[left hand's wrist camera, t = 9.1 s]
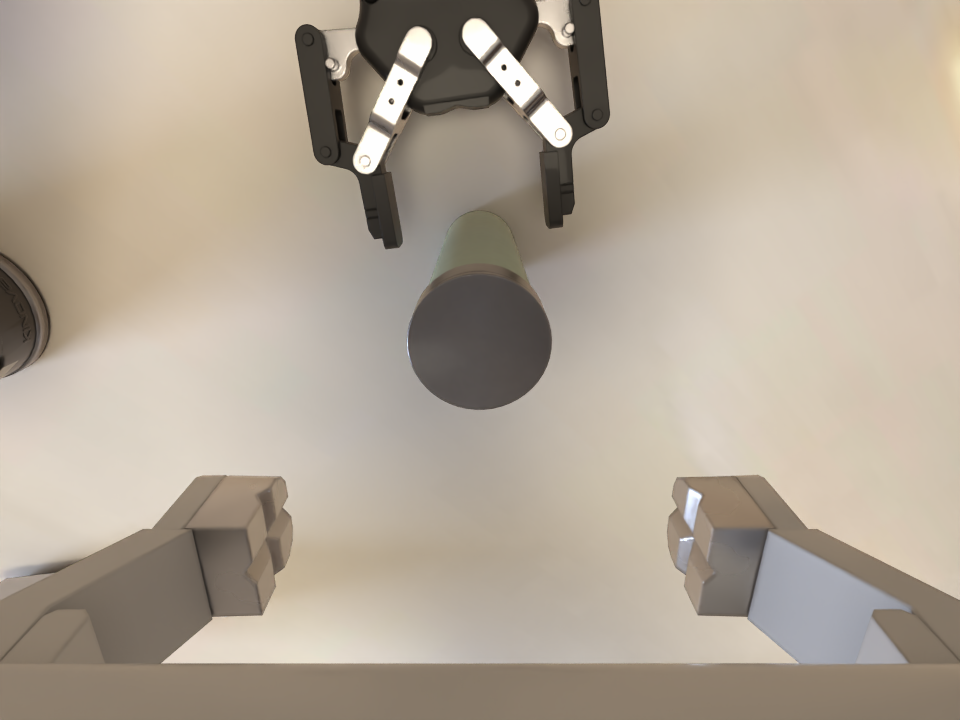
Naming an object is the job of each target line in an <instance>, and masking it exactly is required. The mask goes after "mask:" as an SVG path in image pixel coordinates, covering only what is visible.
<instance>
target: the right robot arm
mask: <svg viewBox="0 0 960 720" xmlns="http://www.w3.org/2000/svg"><path fill="white" fill-rule="evenodd" d="M537 27H543V28H545V29H547V30H548V31H549V32H550V34H551V36H552V40H553V42H554V44H555V45H556V46H557V47H558V48H561V49H567V48H568V54H569V63H570V71H571V80H572V88H573V97H574V105H575V110H574V111H573V112H571V113H569V114H567V115H565V116H564V117H563V116H562V115H561V114H560V113H559V112H558V110H557V109H556V108H555V107H554V106H553V105H552V103H551V102H550V101H549V100H548V99H547V97H546V96H545V94H544V92H543V91H542V90H541V88H540V87H539V86H538V85H537V84H536V82H535V81H534V80H533V79H532V78H531V77H530V75H529V74H528V73H527V72H526V71H525V69H524V68H523V67H522V66H521V65H520V62H521V60H522V58H523V56H524V54H525V52H526V50H527V48H528V46H529V44H530V42H531V40H532V38H533V36H534V34H535V32H536V30H537ZM295 43H296V49H297V55H298V61H299V67H300V73H301V79H302V85H303V91H304V97H305V103H306V109H307V115H308V121H309V127H310V133H311V139H312V145H313V152H314V156H315V158H316V159H317V161H318V162H320V163H321V164H323V165H332V166H336V167H340V168H344V169H348V170H350V171H352V172H353V173H354V174H355V175H356V176H357V178H358V180H359V184H360V189H361V194H362V199H363V204H364V209H365V214H366V218H367V224H368V229H369V231H370V233H371V234H372V236H373V238H374V239H380V238H383V243H384V247H385V249H392V248H399V247H400V246H401V244H402V242H403V239H402V232H401V226H400V220H399V215H398V209H397V204H396V198H395V192H394V187H393V181H392V175H391V172H386V168H385V163H386V161H387V159H388V157H389V155H390V153H391V151H392V149H393V147H394V145H395V143H396V141H397V139H398V137H399V135H400V134H401V132H402V131H403V129H404V127H405V125H406V123H407V121H408V119H409V117H410V115H411V112H412V110H414V111H416V112H418V113H420V114H424V115H427V116H434V115H441V114H445V113H447V112H449V111H451V110H454V109H456V108H465V109H472V110H476V109H484V108H489V106H491V105H493V104H494V103H496V102H497V101H498V100H499V99H500V98H501V97H502V96H503V97H504V99H505V100H506V101H507V102H508V103H509V104H510V105H511V107H512V108H513V109H514V110H515V111H516V112H517V113H518V114H519V115H520V116H521V117H522V118H523V119H524V120H525V121H526V122H527V124H528V125H529V126H530V127H531V128H532V129H533V130H534V131H535V133H536V134H537V135H538V136H539V137H540V138H541V139H542V141H543V150H544V152H539V154H540V166H541V178H542V190H543V202H544V214H545V222H546V225H547V227H548V228H549V229H551V228H558V227H563V215H568V214H572V210H573V207H574V204H575V201H574V186H573V170H572V148H573V145H574V144H575V142H576V141H577V140H578V139H579V138H581V137H583V136H584V135H586V134H588V133H590V132H592V131H594V130H596V129H599V128H601V127H603V126H605V125H606V123H607V122H608V120H609V117H610V109H609V99H608V89H607V78H606V68H605V58H604V47H603V37H602V27H601V16H600V6H599V0H538V1H535V0H360V13H359V19H358V22H357V25H356V28H348V29H335V30H318V29H317V28H315V27H314V26H312V25H309V24H305V25H302V26H300V27H299V28H298V29H297V31H296V34H295ZM359 53H361V55H362V56H363V57H364V58H365V60H366V61H367V62H368V63H369V64H370V65H371V66H372V67H373V68H374V70H375V71H376V72H377V73H378V74H379V75H380V76H381V77H382V78H383V80H384V81H385V84H384V86H383V88H382V90H381V93H380V95H379V97H378V99H377V101H376V103H375V106H374V108H373V110H372V112H371V115H370V118H369V123H368V125H367V128H366V130H365V132H364V134H363V136H362V138H361V141H360V143H359V144H355V143H351V142H348V138H347V131H346V124H345V117H344V110H343V103H342V96H341V89H340V81H344V80H346V79H347V78H348V76H349V75H350V71H351V61H352V59H353V58H354V56H356V55H357V54H359ZM47 338H48V318H47V313H46V310H45V307H44V304H43V302H42V300H41V297H40V295H39V294H38V292H37V290H36V289H35V287H34V286H33V284H32V283H31V282H30V280H29V279H28V278H27V277H26V276H25V275H24V274H23V273H22V271H21V270H19V269H18V268H17V267H16V266H15V265H14V264H12V263H11V262H10V261H9V260H7V259H6V258H4V257H3V256H1V255H0V379H1V378H4V377H7V376H10V375H12V374H14V373H16V372H18V371H20V370H23V369H24V368H26V367H28V366H30V365H31V364H32V363H34V362H35V361H36V360H37V359H38V357H39V356H40V355H41V353H42V352H43V350H44V348H45V346H46V342H47Z"/></svg>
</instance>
